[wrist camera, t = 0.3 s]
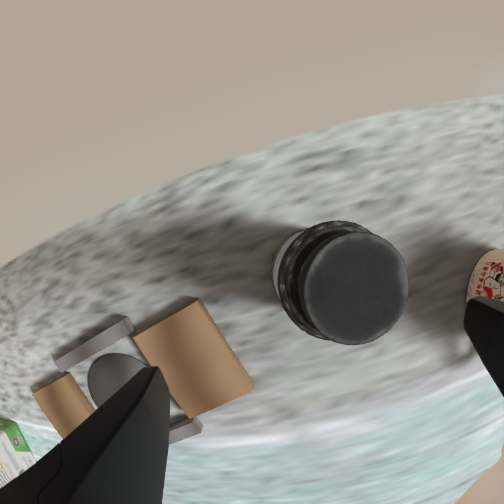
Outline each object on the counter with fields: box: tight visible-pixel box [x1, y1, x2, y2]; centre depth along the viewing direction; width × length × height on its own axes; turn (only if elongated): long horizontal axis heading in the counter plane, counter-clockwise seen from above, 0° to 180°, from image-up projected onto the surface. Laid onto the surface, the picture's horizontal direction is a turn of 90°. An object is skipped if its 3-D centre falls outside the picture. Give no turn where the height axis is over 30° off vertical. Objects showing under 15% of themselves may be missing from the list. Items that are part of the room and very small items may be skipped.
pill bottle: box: [271, 221, 409, 345], centre depth 17 cm, size 6×6×11 cm
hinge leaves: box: [32, 298, 254, 444], centre depth 22 cm, size 21×11×1 cm, turn 121°
